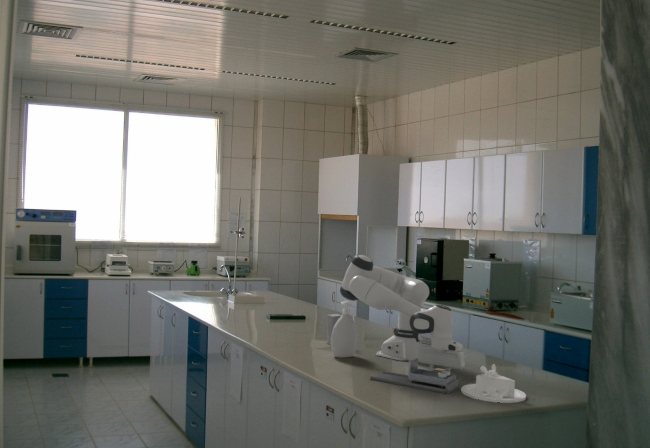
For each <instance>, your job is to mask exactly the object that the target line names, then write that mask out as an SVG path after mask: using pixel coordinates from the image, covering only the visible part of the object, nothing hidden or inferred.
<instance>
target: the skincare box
mask: <svg viewBox="0 0 650 448" xmlns="http://www.w3.org/2000/svg"><path fill="white" fill-rule="evenodd" d="M341 316H342V314H339V313H334V314H326V344H327V345H330V346H331V336H332V331H333V327H334V325H335V324H336V322H337V320H338V319H339V318H340V317H341Z"/></svg>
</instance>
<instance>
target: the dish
mask: <svg viewBox="0 0 650 448" xmlns="http://www.w3.org/2000/svg"><path fill="white" fill-rule="evenodd" d="M479 370H480V372H481V374H476V375H475V383H468V384H464V385H463V386H462V387H460V391H461V394H463V395H464V396H466V397H469V398H471V399H474V400H478V399H479V400H478V401H484V402H491V403H497V402H500V404H501V403H502V404H512V403H513V404H514V403H520V402H524V401H526V399H527V395H526V393H525V392H524V391H521V390H520V389H517V388H515V387H516V380H515V379H514V380H513V379H511V378H509V377H507V376H503V375H501V374H499V373H498V372H497V366H496V364H495V363H493V364H492V365H491V369H489V370H488V369H487V368H486V366H485V365H481V366H480V367H479Z"/></svg>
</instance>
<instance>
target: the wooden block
mask: <svg viewBox="0 0 650 448" xmlns="http://www.w3.org/2000/svg"><path fill="white" fill-rule="evenodd" d="M433 369H434V371H435V372H442V370H446V368H439V367H437V368H433Z"/></svg>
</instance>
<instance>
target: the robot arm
mask: <svg viewBox="0 0 650 448" xmlns="http://www.w3.org/2000/svg"><path fill="white" fill-rule="evenodd" d="M339 292H340V295H341V296H342V297H343V298H345V299H346V300H347V301H353V302H355V301H357V300H359V301H361V302H362V303H364V304H366V305H367V306H368V307H371V308H373V309H376V310H381V311H382V310H383V311H386V310H387V311H396V312H397V313H398V315H397V327H396V328H393V330H392V332H393V335H392V336H390V337H389V338H387V339H386V340H384V341H383V343H381V349H380V350H378V351H377V352H376V353H375V355H376V356H378V357H382V358H388V359H391V360H396V361H403V362H404V361H410V360H413V359H415V358H418V364H419V363H420V364H427V365H428V368H429V370H430V371H434V369H435V368H434V367H435V366H437V367H444V368H445V369H446V370H448V371H450V372H451V370H452V369H457V370H462V369H463V368H464V367H465V364H466V363H465V360H466V359H465V354H464V351H463V349H464V345H463V344H462V343H460V342H458V341H455V340H454V339H453V333H452V332H453V331H452V330H453V328H454V318H453V317H454V313H453V310H452V309H451V308H450V307H449V306H446V305H443V304H434V305H433V306H432V307H424V305H425V302H426V300H427V299H428V297H429V296H430V288H429V286H428V285H427V284H426V283H425V282H424V281H423V280H421V279H417V278H413V277H410V276H407V275H403V274H400V273H397V272H395V271H392V270H389V269H386V268H383V267H379V266H376V265H374V262H373V260H372V259H371V258H370V257H368V256H367V255H364V254H356V255H354V256H353V257H352V259H351V261H350V264H349V265H348V267H347V268H346V271H345V274H344V277H343V279H342V283H341V285H340V289H339ZM423 334H425V335H426V334H430V341H424V340H422V335H423Z"/></svg>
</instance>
